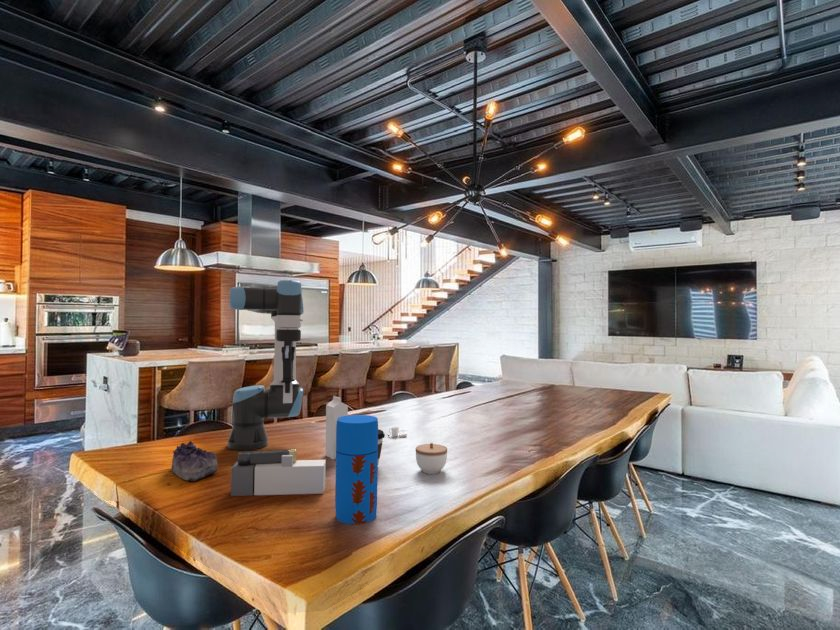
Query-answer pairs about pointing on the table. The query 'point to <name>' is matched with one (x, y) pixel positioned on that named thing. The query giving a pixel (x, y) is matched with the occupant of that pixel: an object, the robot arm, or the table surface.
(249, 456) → the bar
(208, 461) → the geode
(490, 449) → the table surface
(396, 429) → the teacup and saucer
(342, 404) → the milk
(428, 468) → the lidded jar
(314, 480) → the white box with knob
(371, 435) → the thermos
